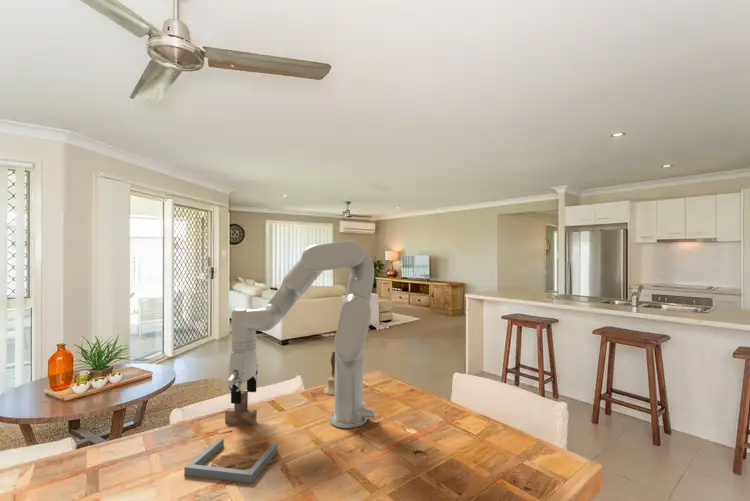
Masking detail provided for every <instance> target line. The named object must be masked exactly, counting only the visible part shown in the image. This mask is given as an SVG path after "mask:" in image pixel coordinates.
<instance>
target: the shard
mask: <svg viewBox="0 0 750 501" xmlns="http://www.w3.org/2000/svg"><path fill="white" fill-rule="evenodd" d="M259 459H260V458H256V457H252V456H248V455H244V454H239V453H234V452H228V453H226V454H225V453H224V454H223V455H221V456H220V457H218V458H217V459H216V460H214V461H212V463H211V464H210V466H212V467H221V468H230V469H239V470H242V469H245V468H250V467H253V465H254V464H255V463H256V462H257V461H258V460H259Z"/></svg>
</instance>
